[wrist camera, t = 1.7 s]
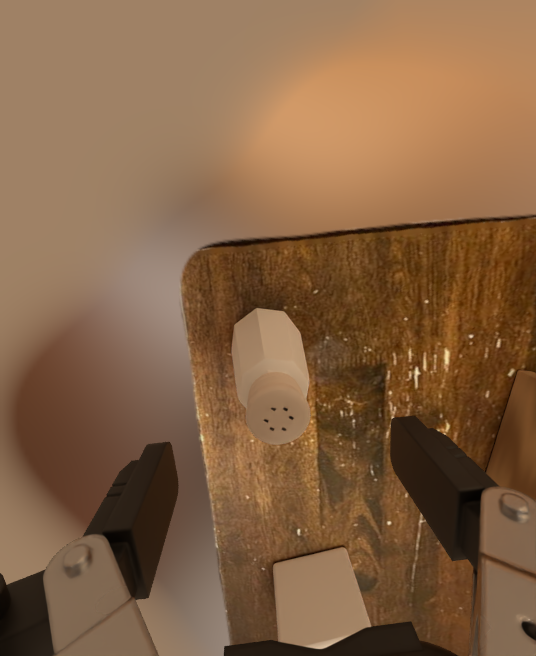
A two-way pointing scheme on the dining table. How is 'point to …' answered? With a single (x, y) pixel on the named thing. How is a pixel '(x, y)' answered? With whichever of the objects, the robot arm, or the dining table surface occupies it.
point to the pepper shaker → (271, 375)
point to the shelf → (517, 439)
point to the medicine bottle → (318, 599)
